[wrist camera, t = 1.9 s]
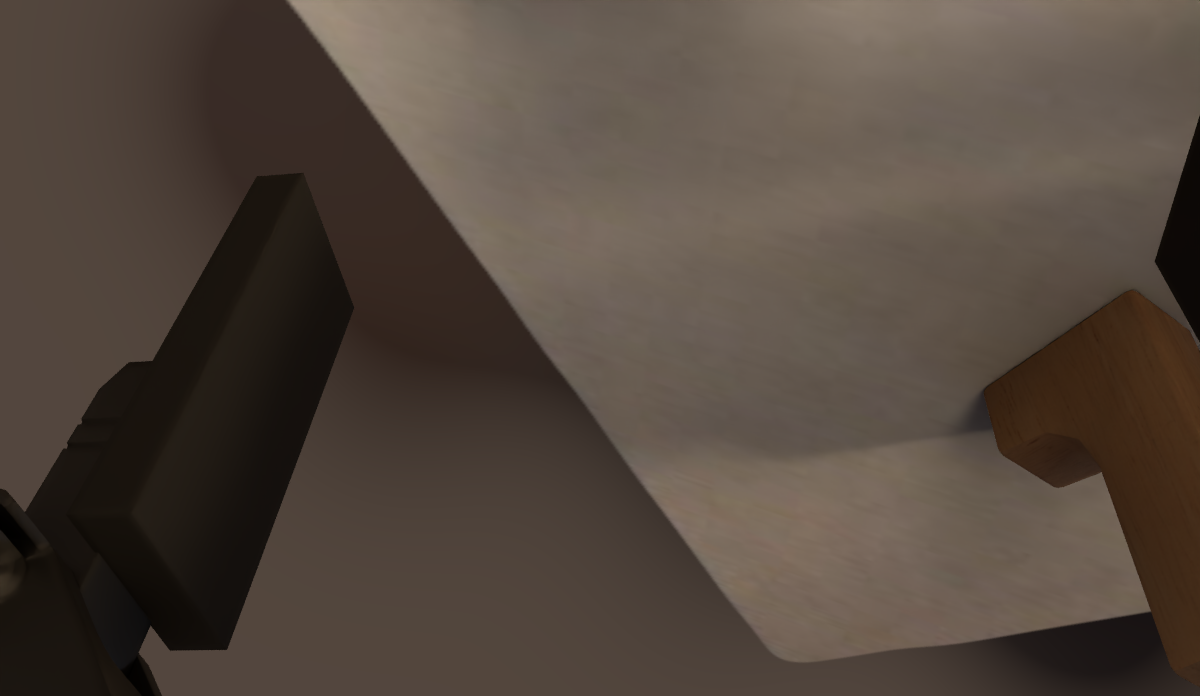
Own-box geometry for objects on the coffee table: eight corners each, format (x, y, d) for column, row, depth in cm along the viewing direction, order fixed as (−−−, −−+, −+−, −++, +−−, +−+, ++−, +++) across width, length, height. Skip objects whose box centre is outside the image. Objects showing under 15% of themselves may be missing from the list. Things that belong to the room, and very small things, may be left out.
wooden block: (1037, 426, 54) (1138, 755, 41) (978, 388, 52) (1064, 717, 39) (1192, 329, 48) (1365, 673, 35) (1131, 283, 47) (1290, 625, 34)
